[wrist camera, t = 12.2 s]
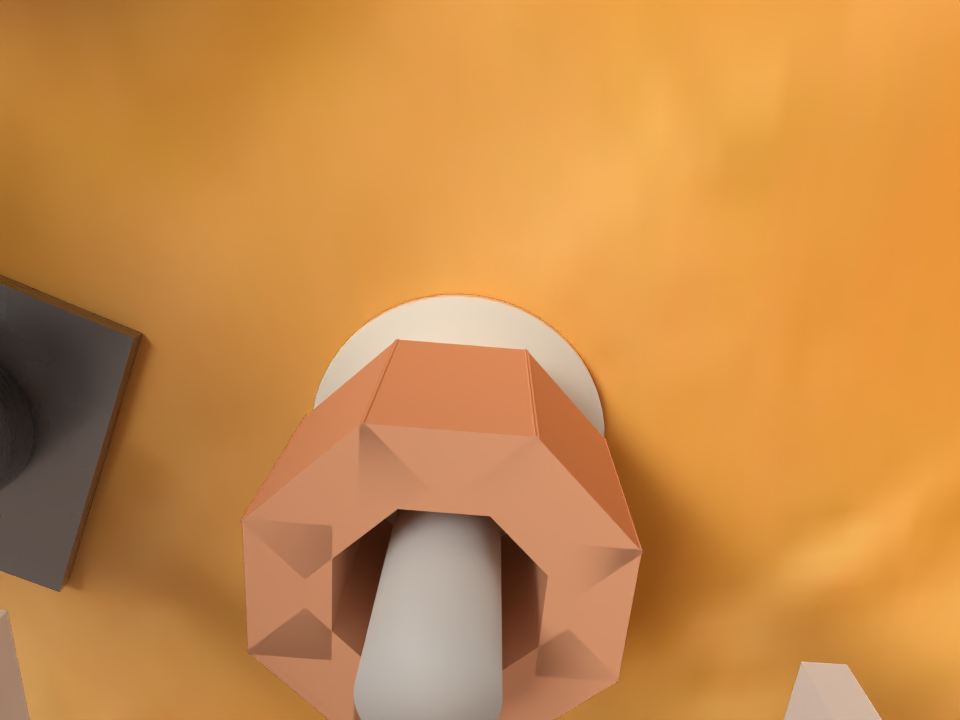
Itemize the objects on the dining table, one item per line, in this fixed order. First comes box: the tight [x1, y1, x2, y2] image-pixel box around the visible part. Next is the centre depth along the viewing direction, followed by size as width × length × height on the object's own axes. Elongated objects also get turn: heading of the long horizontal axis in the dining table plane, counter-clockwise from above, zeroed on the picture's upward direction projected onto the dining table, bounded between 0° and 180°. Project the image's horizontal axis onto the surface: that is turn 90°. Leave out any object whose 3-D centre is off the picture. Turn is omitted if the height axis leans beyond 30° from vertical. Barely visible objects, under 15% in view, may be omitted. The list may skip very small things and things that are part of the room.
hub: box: [314, 294, 605, 720], centre depth 17 cm, size 9×9×10 cm
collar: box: [241, 339, 643, 720], centre depth 17 cm, size 8×8×5 cm
